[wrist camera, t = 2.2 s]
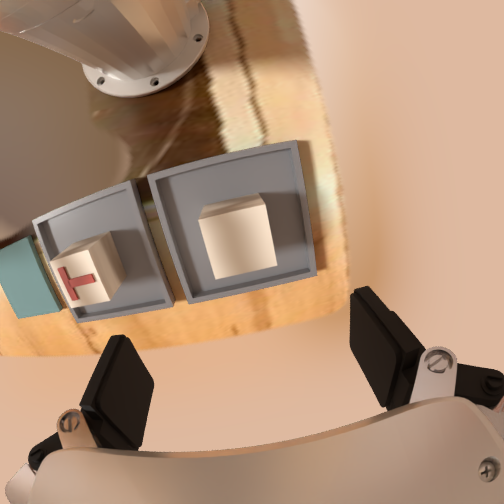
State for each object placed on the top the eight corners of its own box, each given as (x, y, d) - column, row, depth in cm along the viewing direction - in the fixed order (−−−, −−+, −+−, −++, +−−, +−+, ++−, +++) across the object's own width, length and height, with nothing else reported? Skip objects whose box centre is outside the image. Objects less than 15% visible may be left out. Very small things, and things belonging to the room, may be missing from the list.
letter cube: (110, 230, 24) (87, 250, 19) (126, 275, 26) (109, 301, 21) (73, 242, 24) (48, 262, 19) (90, 284, 26) (70, 309, 21)
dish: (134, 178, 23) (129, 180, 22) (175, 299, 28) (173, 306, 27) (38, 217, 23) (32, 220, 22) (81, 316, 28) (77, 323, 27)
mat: (30, 235, 24) (26, 237, 23) (62, 308, 27) (60, 311, 27) (-8, 253, 24) (-12, 255, 23) (20, 315, 27) (18, 318, 27)
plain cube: (258, 192, 24) (265, 204, 20) (268, 243, 26) (277, 265, 22) (203, 205, 24) (198, 219, 20) (217, 255, 26) (215, 279, 22)
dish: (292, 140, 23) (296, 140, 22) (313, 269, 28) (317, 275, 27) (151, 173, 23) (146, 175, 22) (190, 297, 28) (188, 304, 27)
